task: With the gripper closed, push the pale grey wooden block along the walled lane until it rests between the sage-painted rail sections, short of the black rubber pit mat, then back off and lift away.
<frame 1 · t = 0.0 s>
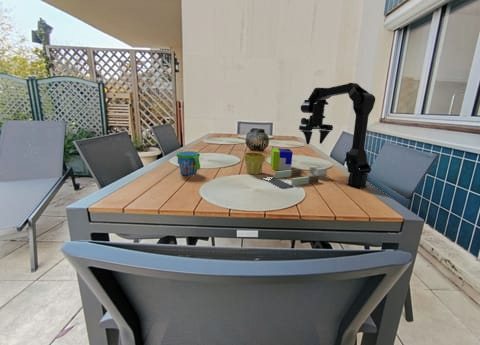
hand: (314, 143, 130), 15 cm above the table, tool pointing down, fingers open, 9 cm apart
puzzle toy: (280, 168, 139), on the table
grey block: (317, 177, 123), on the table
trap pit mat: (276, 182, 111), on the table
plant pot: (253, 173, 126), on the table
snack cup: (188, 174, 120), on the table
lane rails: (296, 179, 116), on the table
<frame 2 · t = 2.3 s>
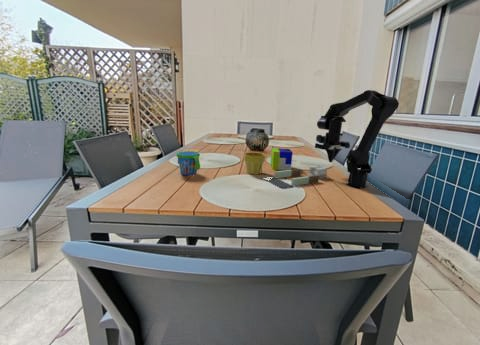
hand: (330, 162, 124), 7 cm above the table, tool pointing down, fingers closed
nothing on the table moved.
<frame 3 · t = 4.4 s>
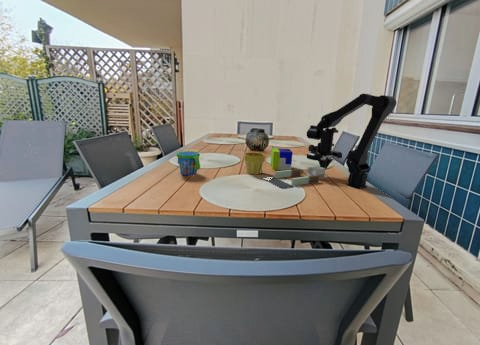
hand: (322, 172, 124), 2 cm above the table, tool pointing down, fingers closed
grey block: (315, 177, 122), on the table, touching gripper
everything else where it was.
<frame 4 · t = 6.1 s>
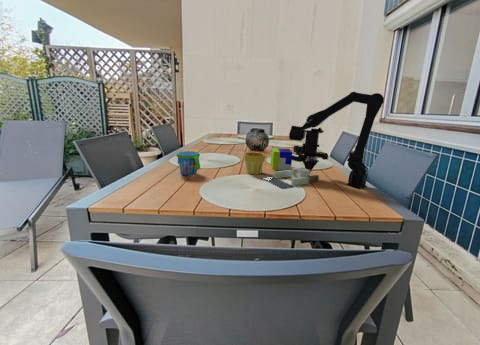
hand: (307, 173, 119), 2 cm above the table, tool pointing down, fingers closed
grey block: (300, 179, 117), on the table, touching gripper
everything else where it was.
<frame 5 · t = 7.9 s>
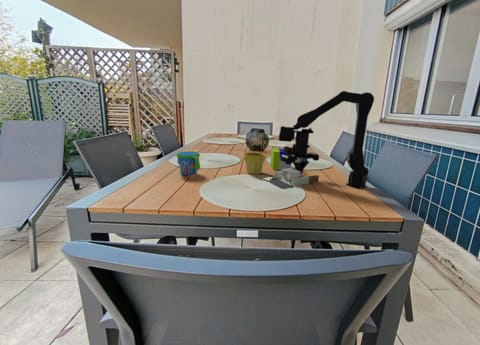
hand: (298, 175, 116), 2 cm above the table, tool pointing down, fingers closed
grey block: (290, 180, 115), on the table, touching gripper
everything else where it was.
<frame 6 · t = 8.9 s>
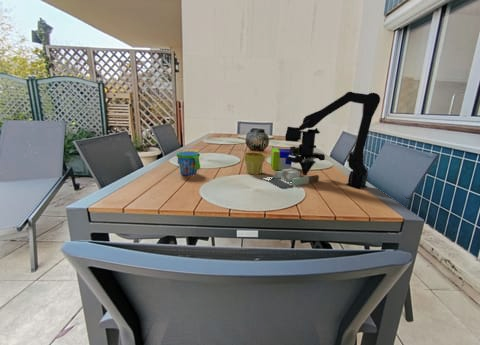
hand: (304, 175, 118), 2 cm above the table, tool pointing down, fingers closed
grey block: (290, 181, 115), on the table
everything else where it was.
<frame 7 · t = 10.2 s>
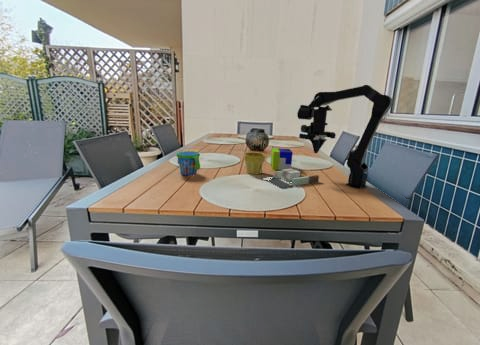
hand: (315, 153, 119), 12 cm above the table, tool pointing down, fingers closed
nothing on the table moved.
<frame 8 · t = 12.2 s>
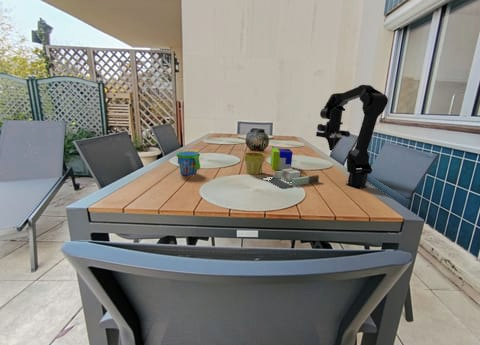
hand: (331, 150, 128), 12 cm above the table, tool pointing down, fingers closed
nothing on the table moved.
at the end: grey block inside the target area (1.3 cm from its centre), on the table; grey block tilted 0°; grey block touching table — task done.
